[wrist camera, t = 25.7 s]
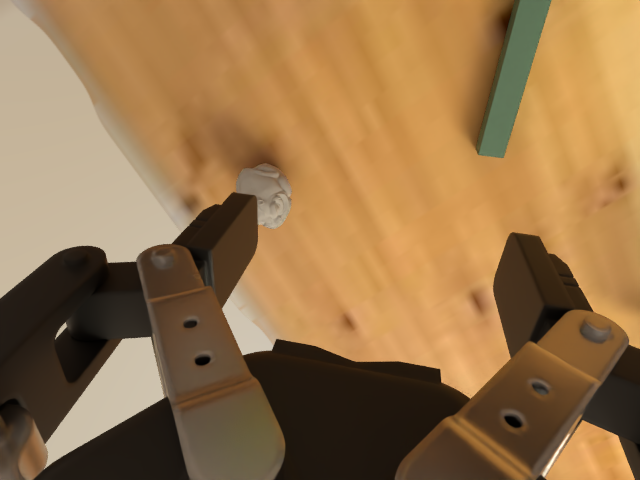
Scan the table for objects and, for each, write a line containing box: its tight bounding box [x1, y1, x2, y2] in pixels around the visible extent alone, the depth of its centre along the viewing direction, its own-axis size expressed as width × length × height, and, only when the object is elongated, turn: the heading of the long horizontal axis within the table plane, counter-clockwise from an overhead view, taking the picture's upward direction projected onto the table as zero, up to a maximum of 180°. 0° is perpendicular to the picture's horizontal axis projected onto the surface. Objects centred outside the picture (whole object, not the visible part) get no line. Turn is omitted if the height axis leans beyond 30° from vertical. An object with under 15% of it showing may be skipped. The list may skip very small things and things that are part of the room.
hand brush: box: [476, 0, 551, 158], centre depth 36 cm, size 24×10×3 cm, turn 176°
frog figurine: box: [236, 163, 292, 229], centre depth 46 cm, size 6×7×7 cm
